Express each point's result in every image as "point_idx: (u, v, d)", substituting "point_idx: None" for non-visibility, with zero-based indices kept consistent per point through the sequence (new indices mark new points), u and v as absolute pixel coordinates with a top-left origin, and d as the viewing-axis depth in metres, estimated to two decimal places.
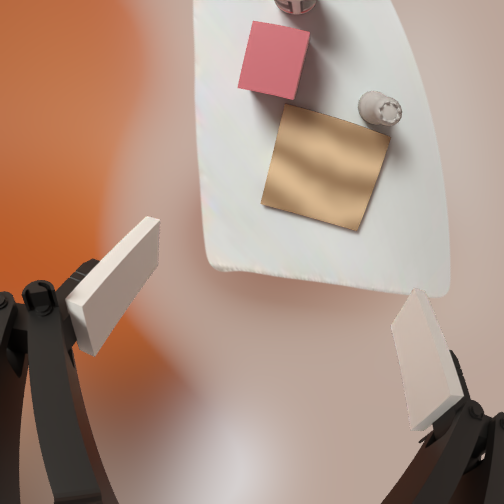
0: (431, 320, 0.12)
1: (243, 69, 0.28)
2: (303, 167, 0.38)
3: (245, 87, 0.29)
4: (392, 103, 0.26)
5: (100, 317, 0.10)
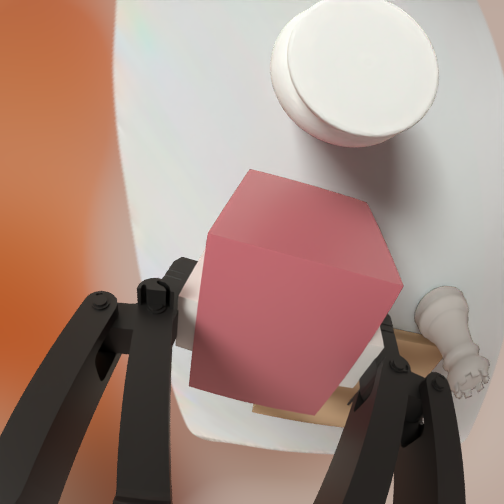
0: None
1: (196, 360, 0.12)
2: None
3: (206, 389, 0.13)
4: (481, 372, 0.13)
5: None
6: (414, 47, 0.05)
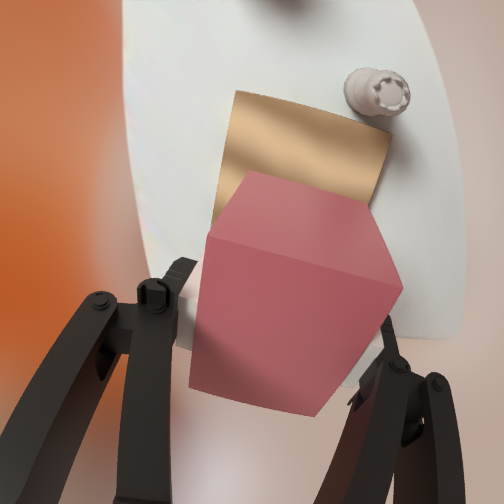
0: None
1: (195, 362, 0.12)
2: None
3: (206, 390, 0.13)
4: (395, 79, 0.15)
5: None
6: None
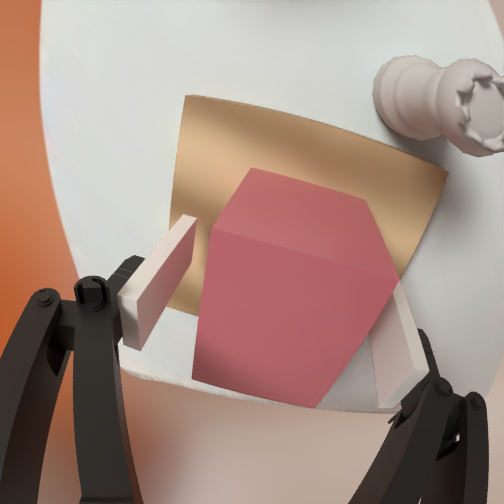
0: (399, 298, 0.13)
1: (199, 353, 0.12)
2: None
3: (208, 382, 0.13)
4: (497, 82, 0.05)
5: (148, 312, 0.11)
6: None
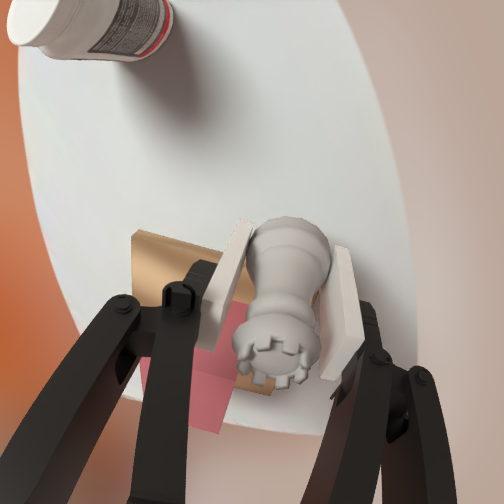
0: (345, 271, 0.14)
1: None
2: None
3: None
4: (283, 345, 0.09)
5: (224, 314, 0.12)
6: None
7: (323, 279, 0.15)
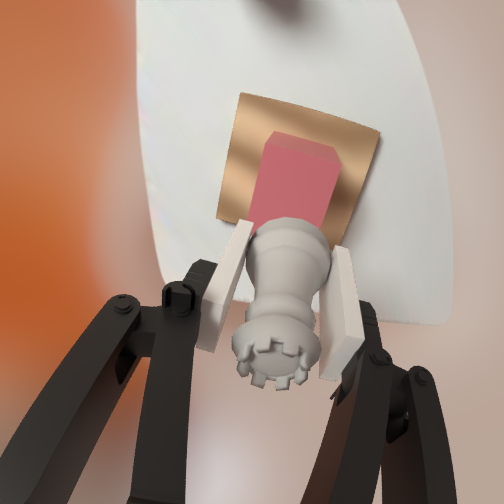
0: (345, 271, 0.14)
1: (251, 211, 0.25)
2: None
3: (253, 233, 0.26)
4: (282, 347, 0.09)
5: (223, 314, 0.12)
6: None
7: (323, 280, 0.15)
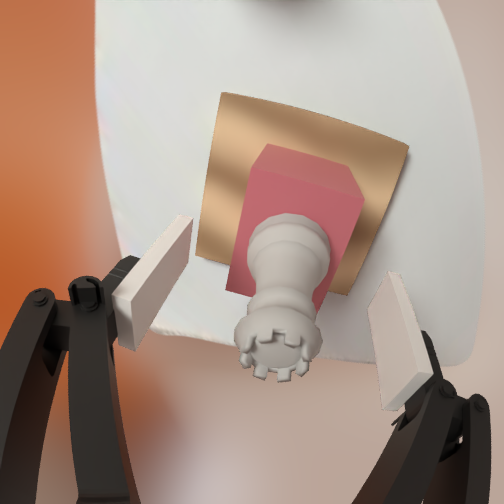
0: (403, 300, 0.12)
1: (234, 262, 0.18)
2: None
3: (238, 291, 0.19)
4: (284, 338, 0.10)
5: (143, 312, 0.11)
6: None
7: (323, 275, 0.15)
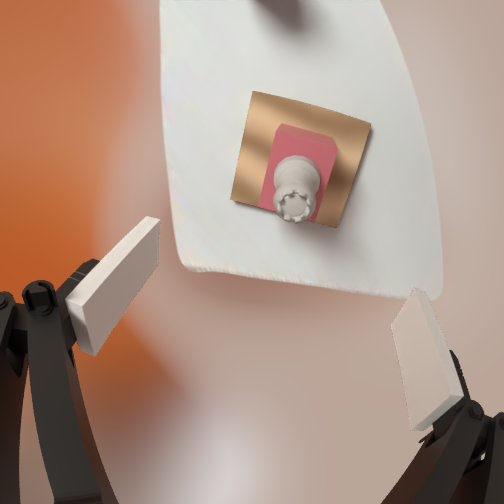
0: (431, 320, 0.12)
1: (264, 187, 0.30)
2: None
3: (266, 207, 0.31)
4: (298, 193, 0.21)
5: (100, 317, 0.10)
6: None
7: (316, 188, 0.27)
